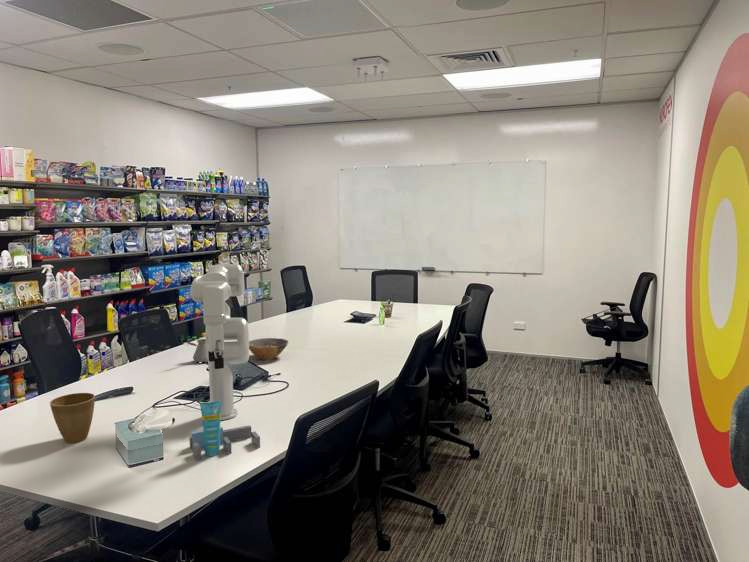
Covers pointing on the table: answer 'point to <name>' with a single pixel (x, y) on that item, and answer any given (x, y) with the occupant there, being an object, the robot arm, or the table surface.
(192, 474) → the table surface
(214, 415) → the tube
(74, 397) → the plant pot
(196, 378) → the table surface
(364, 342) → the table surface
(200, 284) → the robot arm
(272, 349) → the bowl
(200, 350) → the coffee pot
